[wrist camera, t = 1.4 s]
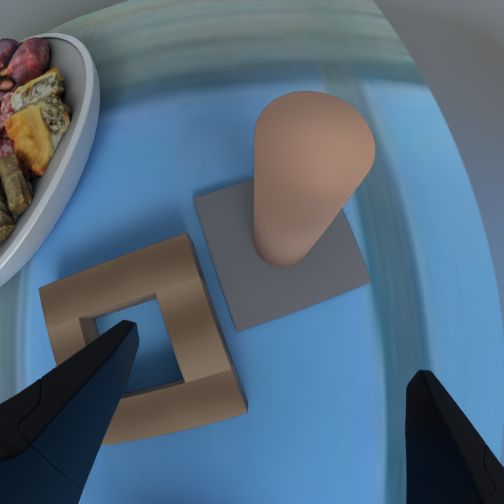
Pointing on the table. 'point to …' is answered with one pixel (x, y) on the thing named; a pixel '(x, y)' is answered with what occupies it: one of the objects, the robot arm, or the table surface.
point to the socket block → (178, 326)
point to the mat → (265, 275)
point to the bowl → (41, 137)
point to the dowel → (305, 171)
